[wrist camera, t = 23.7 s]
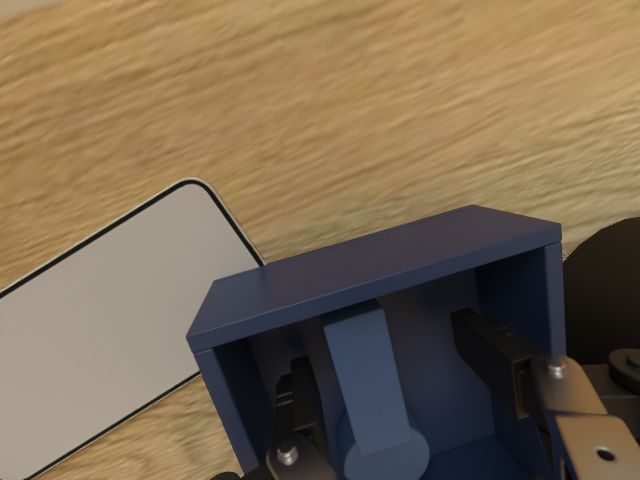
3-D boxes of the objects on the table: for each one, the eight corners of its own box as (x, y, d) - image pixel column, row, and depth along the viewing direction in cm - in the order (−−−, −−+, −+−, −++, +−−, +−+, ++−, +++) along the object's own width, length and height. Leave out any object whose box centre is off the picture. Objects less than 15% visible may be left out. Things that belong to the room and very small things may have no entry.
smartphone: (300, 314, 14) (11, 495, 14) (299, 307, 14) (22, 480, 14) (197, 166, 12) (-144, 377, 12) (201, 166, 12) (-122, 366, 12)
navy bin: (213, 279, 13) (183, 336, 9) (472, 204, 14) (562, 223, 10) (297, 502, 17) (306, 622, 12) (500, 431, 17) (574, 520, 13)
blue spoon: (292, 299, 13) (297, 334, 11) (381, 273, 14) (408, 300, 11) (345, 472, 16) (360, 535, 13) (419, 447, 16) (448, 503, 14)
